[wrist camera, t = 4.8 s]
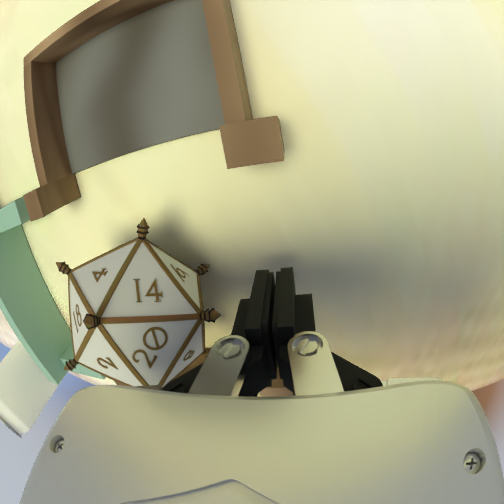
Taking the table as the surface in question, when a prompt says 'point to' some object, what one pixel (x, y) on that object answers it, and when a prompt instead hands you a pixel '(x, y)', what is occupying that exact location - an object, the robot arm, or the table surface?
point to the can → (22, 390)
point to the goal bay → (32, 300)
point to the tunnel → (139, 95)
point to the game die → (136, 313)
